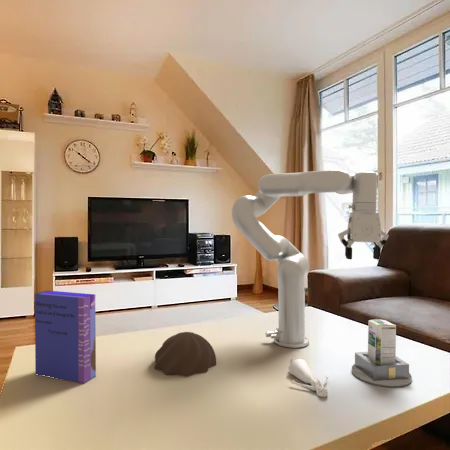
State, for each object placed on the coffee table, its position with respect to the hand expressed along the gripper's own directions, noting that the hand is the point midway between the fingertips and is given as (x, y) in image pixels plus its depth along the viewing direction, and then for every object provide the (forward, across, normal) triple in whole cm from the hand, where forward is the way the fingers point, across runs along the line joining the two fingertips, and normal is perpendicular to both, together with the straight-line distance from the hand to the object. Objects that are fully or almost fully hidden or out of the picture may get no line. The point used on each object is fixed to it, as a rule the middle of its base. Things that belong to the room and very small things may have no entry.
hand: (362, 259), depth 121 cm
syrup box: (+31, -2, -17) cm, 36 cm away
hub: (+32, -2, -17) cm, 36 cm away
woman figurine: (+33, -25, -21) cm, 46 cm away
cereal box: (+34, -94, -10) cm, 100 cm away
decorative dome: (+33, -59, -4) cm, 68 cm away
